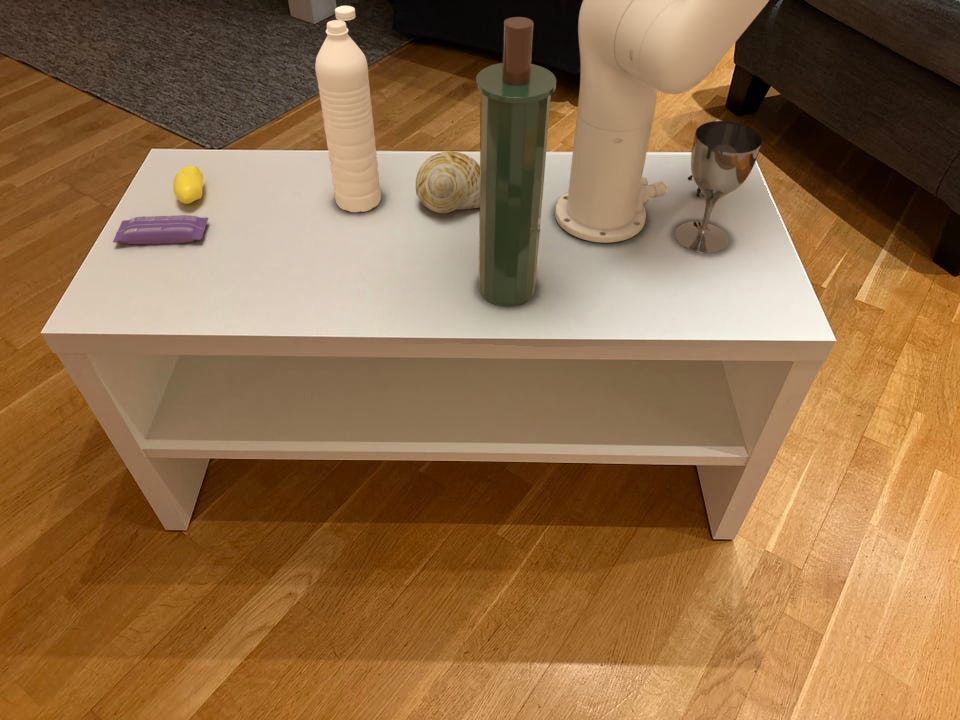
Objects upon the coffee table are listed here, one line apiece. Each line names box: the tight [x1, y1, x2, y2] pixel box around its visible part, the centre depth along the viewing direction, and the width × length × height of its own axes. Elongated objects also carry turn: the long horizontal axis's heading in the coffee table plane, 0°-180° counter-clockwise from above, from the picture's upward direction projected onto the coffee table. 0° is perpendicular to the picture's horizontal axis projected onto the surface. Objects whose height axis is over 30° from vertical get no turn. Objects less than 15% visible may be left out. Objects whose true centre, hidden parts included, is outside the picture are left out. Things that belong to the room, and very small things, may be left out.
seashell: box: [415, 150, 480, 214], centre depth 104 cm, size 10×10×10 cm
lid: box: [475, 16, 557, 103], centre depth 72 cm, size 8×8×7 cm
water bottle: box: [314, 5, 382, 213], centre depth 98 cm, size 9×6×25 cm
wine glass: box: [674, 120, 763, 254], centre depth 95 cm, size 8×8×15 cm
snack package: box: [112, 214, 209, 245], centre depth 99 cm, size 12×2×5 cm
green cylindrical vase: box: [478, 93, 552, 307], centre depth 83 cm, size 7×7×26 cm
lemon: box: [172, 165, 205, 205], centre depth 105 cm, size 4×8×4 cm, turn 5°
